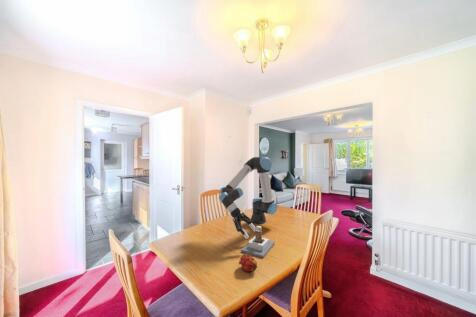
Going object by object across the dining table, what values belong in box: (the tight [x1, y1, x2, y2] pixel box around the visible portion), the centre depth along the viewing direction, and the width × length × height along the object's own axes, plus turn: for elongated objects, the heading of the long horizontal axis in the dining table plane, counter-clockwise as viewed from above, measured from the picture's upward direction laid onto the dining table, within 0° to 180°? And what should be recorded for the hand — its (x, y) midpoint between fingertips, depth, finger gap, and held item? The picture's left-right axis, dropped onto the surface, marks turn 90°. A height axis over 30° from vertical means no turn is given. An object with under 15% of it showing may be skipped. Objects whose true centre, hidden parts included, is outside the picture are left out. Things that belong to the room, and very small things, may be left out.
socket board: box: [240, 235, 276, 259], centre depth 130 cm, size 22×16×5 cm
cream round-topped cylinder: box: [254, 225, 263, 244], centre depth 130 cm, size 4×4×13 cm
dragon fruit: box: [238, 253, 258, 273], centre depth 105 cm, size 8×8×12 cm
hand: (252, 234), depth 132 cm, fingers open, 13 cm apart
